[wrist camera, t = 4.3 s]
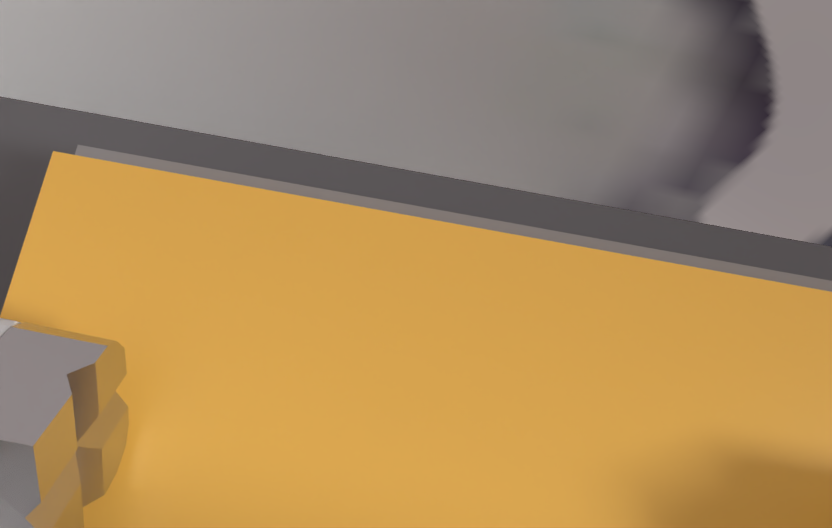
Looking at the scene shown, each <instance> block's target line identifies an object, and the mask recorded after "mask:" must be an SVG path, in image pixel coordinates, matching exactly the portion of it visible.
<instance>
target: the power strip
mask: <svg viewBox="0 0 832 528" xmlns="http://www.w3.org/2000/svg"><path fill="white" fill-rule="evenodd" d="M53 151H56V152H61V153H67V154H72V155H78V156H83V157H89V158H94V159H100V160H106V161H111V162H117V163H122V164H128V165H133V166H139V167H144V168H150V169H155V170H161V171H166V172H172V173H177V174H183V175H188V176H194V177H200V178H205V179H211V180H216V181H222V182H227V183H233V184H238V185H244V186H249V187H255V188H260V189H266V190H271V191H277V192H283V193H288V194H294V195H299V196H305V197H310V198H316V199H321V200H327V201H332V202H338V203H343V204H349V205H354V206H360V207H366V208H371V209H377V210H382V211H388V212H393V213H399V214H404V215H410V216H415V217H421V218H426V219H432V220H437V221H443V222H448V223H454V224H460V225H465V226H471V227H476V228H482V229H487V230H493V231H498V232H504V233H509V234H515V235H520V236H526V237H531V238H537V239H543V240H548V241H554V242H559V243H565V244H570V245H576V246H581V247H587V248H592V249H598V250H603V251H609V252H614V253H620V254H625V255H631V256H637V257H642V258H648V259H653V260H659V261H664V262H670V263H675V264H681V265H686V266H692V267H697V268H703V269H708V270H714V271H720V272H725V273H731V274H736V275H742V276H747V277H753V278H758V279H764V280H769V281H775V282H780V283H786V284H791V285H797V286H802V287H808V288H814V289H819V290H825V291H830V292H832V247H830V246H825V245H819V244H814V243H808V242H803V241H797V240H792V239H786V238H780V237H775V236H769V235H764V234H758V233H753V232H747V231H742V230H736V229H731V228H725V227H719V226H714V225H708V224H703V223H697V222H692V221H686V220H681V219H675V218H670V217H664V216H659V215H653V214H647V213H642V212H636V211H631V210H625V209H620V208H614V207H609V206H603V205H598V204H592V203H587V202H581V201H575V200H570V199H564V198H559V197H553V196H548V195H542V194H537V193H531V192H526V191H520V190H515V189H509V188H503V187H498V186H492V185H487V184H481V183H476V182H470V181H465V180H459V179H454V178H448V177H443V176H437V175H431V174H426V173H420V172H415V171H409V170H404V169H398V168H393V167H387V166H382V165H376V164H370V163H365V162H359V161H354V160H348V159H343V158H337V157H332V156H326V155H321V154H315V153H310V152H304V151H298V150H293V149H287V148H282V147H276V146H271V145H265V144H260V143H254V142H249V141H243V140H238V139H232V138H226V137H221V136H215V135H210V134H204V133H199V132H193V131H188V130H182V129H177V128H171V127H166V126H160V125H154V124H149V123H143V122H138V121H132V120H127V119H121V118H116V117H110V116H105V115H99V114H93V113H88V112H82V111H77V110H71V109H66V108H60V107H55V106H49V105H44V104H38V103H33V102H27V101H21V100H16V99H10V98H5V97H0V315H1V312H2V309H3V306H4V302H5V299H6V296H7V293H8V290H9V287H10V284H11V281H12V278H13V274H14V271H15V268H16V265H17V262H18V259H19V256H20V253H21V249H22V246H23V243H24V240H25V237H26V234H27V231H28V228H29V225H30V221H31V218H32V215H33V212H34V209H35V206H36V203H37V200H38V196H39V193H40V190H41V187H42V184H43V181H44V178H45V175H46V172H47V168H48V165H49V162H50V159H51V156H52V153H53Z"/></svg>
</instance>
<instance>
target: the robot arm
mask: <svg viewBox="0 0 832 528" xmlns="http://www.w3.org/2000/svg"><path fill="white" fill-rule="evenodd" d="M126 374H127V371H126V359H125V348H124V347H123V346H122V345H121V344H120V343H119V342H117V341H114V340H109V339H104V338H99V337H94V336H90V335H85V334H80V333H75V332H70V331H65V330H61V329H56V328H51V327H46V326H41V325H36V324H32V323H27V322H23V323H21V322H17V321H13V320H8V319H3V318H0V528H84V519H83V507H84V506H86V505H88V504H90V503H91V502H93V501H95V500H97V499H98V498H100V497H102V496H104V495H105V493H106V491H107V490H108V488H109V486H110V484H111V482H112V480H113V479H114V477H115V475H116V473H117V471H118V468H119V465H120V462H121V459H122V456H123V453H124V450H125V447H126V441H127V433H128V426H129V418H128V406H127V405H126V403H125V402H124V401H123V399H122V398H121V397H120V396H119V394H118V393H117V392H116V389H117V388H118V386H119V385H120V383H121V382H122V380H123V379H124V377H125V376H126Z"/></svg>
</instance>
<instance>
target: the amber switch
mask: <svg viewBox="0 0 832 528" xmlns="http://www.w3.org/2000/svg"><path fill="white" fill-rule="evenodd" d="M0 318H3V319H8V320H13V321H17V322H21V323H23V322H27V323H32V324H36V325H41V326H46V327H51V328H56V329H61V330H65V331H70V332H75V333H80V334H85V335H90V336H94V337H99V338H104V339H109V340H114V341H117V342H119V343H120V344H121V345H122V346H123V347H124V348H125V359H126V371H127V374H126V376H125V377H124V379H123V380H122V382H121V383H120V385H119V386H118V388H117V389H116V392H117V393H118V394H119V396H120V397H121V398H122V399H123V401H124V402H125V403H126V405H127V406H128V418H129V426H128V433H127V441H126V447H125V450H124V453H123V456H122V459H121V462H120V465H119V468H118V471H117V473H116V475H115V477H114V479H113V480H112V482H111V484H110V486H109V488H108V490H107V491H106V493H105V495H104V496H102V497H100V498H98V499H97V500H95V501H93V502H91V503H90V504H88V505H86V506H84V507H83V519H84V528H832V292H830V291H825V290H819V289H814V288H808V287H802V286H797V285H791V284H786V283H780V282H775V281H769V280H764V279H758V278H753V277H747V276H742V275H736V274H731V273H725V272H720V271H714V270H708V269H703V268H697V267H692V266H686V265H681V264H675V263H670V262H664V261H659V260H653V259H648V258H642V257H637V256H631V255H625V254H620V253H614V252H609V251H603V250H598V249H592V248H587V247H581V246H576V245H570V244H565V243H559V242H554V241H548V240H543V239H537V238H531V237H526V236H520V235H515V234H509V233H504V232H498V231H493V230H487V229H482V228H476V227H471V226H465V225H460V224H454V223H448V222H443V221H437V220H432V219H426V218H421V217H415V216H410V215H404V214H399V213H393V212H388V211H382V210H377V209H371V208H366V207H360V206H354V205H349V204H343V203H338V202H332V201H327V200H321V199H316V198H310V197H305V196H299V195H294V194H288V193H283V192H277V191H271V190H266V189H260V188H255V187H249V186H244V185H238V184H233V183H227V182H222V181H216V180H211V179H205V178H200V177H194V176H188V175H183V174H177V173H172V172H166V171H161V170H155V169H150V168H144V167H139V166H133V165H128V164H122V163H117V162H111V161H106V160H100V159H94V158H89V157H83V156H78V155H72V154H67V153H61V152H56V151H53V153H52V156H51V159H50V162H49V165H48V168H47V172H46V175H45V178H44V181H43V184H42V187H41V190H40V193H39V196H38V200H37V203H36V206H35V209H34V212H33V215H32V218H31V221H30V225H29V228H28V231H27V234H26V237H25V240H24V243H23V246H22V249H21V253H20V256H19V259H18V262H17V265H16V268H15V271H14V274H13V278H12V281H11V284H10V287H9V290H8V293H7V296H6V299H5V302H4V306H3V309H2V312H1V315H0Z"/></svg>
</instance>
